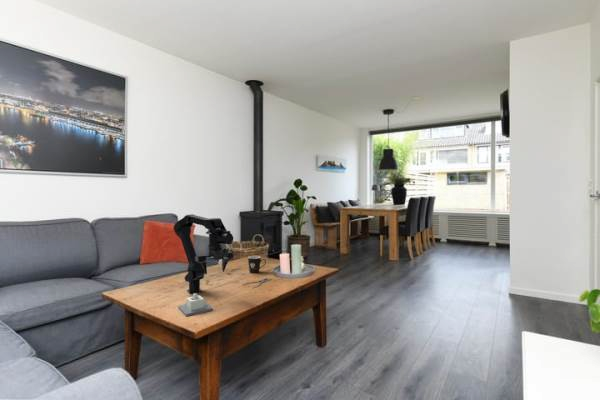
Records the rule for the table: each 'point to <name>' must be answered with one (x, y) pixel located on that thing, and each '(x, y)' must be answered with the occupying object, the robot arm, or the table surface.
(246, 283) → the pliers
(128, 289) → the table surface
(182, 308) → the post stand
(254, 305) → the table surface
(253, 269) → the coffee mug
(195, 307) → the hollow square sleeve
